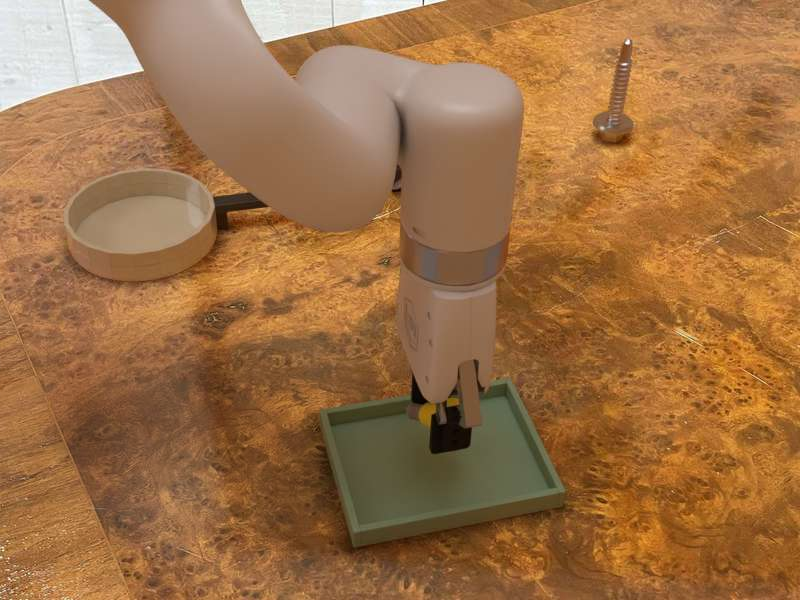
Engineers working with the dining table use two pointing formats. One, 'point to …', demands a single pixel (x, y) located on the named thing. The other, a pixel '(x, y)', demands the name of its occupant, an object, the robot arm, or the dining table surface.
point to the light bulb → (426, 411)
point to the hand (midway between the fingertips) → (439, 422)
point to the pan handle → (234, 206)
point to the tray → (435, 468)
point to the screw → (617, 100)
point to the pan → (140, 224)
